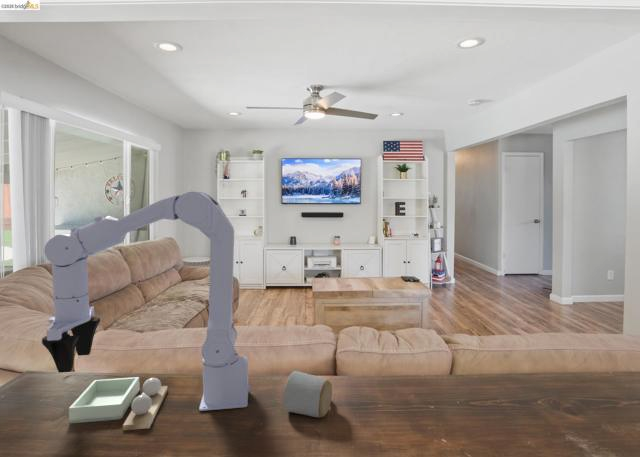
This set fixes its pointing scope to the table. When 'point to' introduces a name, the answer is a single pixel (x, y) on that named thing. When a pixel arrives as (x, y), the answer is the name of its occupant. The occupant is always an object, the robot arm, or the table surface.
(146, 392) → the white ball
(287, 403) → the grey cylinder tan end
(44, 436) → the table surface
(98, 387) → the tub
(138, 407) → the pebble
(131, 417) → the oak board
